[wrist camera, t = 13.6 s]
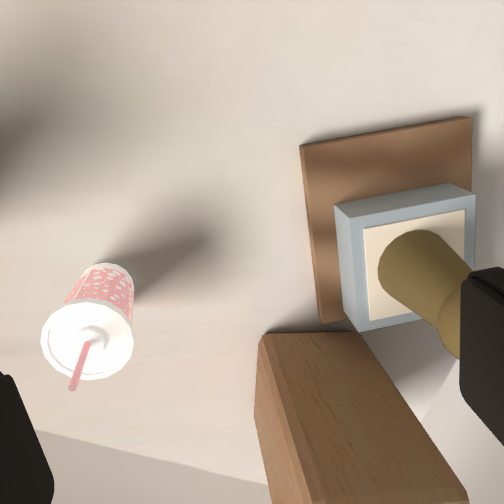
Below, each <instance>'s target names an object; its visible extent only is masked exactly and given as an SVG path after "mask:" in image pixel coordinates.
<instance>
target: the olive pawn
mask: <svg viewBox="0 0 504 504" xmlns="http://www.w3.org/2000/svg"><path fill="white" fill-rule="evenodd" d="M377 270H378V280H379V282H380V284H381V286H382V288H383V289H384V290H385V291H386V292H387V293H388V294H389V295H390V296H391V297H393V298H394V299H396V300H397V301H398V302H400V303H401V304H403V305H404V306H406V307H407V308H408V309H410V310H411V311H413V312H414V313H416V314H417V315H418V316H420V317H421V318H423V319H424V320H425V321H427V322H428V323H430V324H431V325H433V326H434V327H435V328H437V331H438V333H439V336H440V338H441V340H442V343H443V345H444V346H445V347H446V349H447V350H448V351H449V352H450V353H451V354H452V355H454V356H455V357H456V358H457V359H459V360H460V293H461V284H462V282H463V281H464V280H467V277H468V275H469V274H470V273H471V272H474V271H473V270H472V269H471V268H470V267H469V266H468V265H467V264H466V262H465V261H464V260H463V259H462V258H461V257H460V256H459V255H458V254H457V253H456V252H455V251H454V250H453V249H452V248H451V247H450V246H449V245H448V244H447V243H446V242H445V241H444V240H443V239H442V238H441V237H440V236H439V235H438V234H436V233H433V232H431V231H428V230H414V231H409V232H406V233H404V234H402V235H400V236H398V237H397V238H395V239H394V240H393V241H392V242H391V243H390V244H389V245H388V246H387V247H386V248H385V250H384V252H383V253H382V255H381V257H380V260H379V264H378V268H377Z"/></svg>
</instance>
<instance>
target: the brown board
mask: <svg viewBox="0 0 504 504" xmlns="http://www.w3.org/2000/svg"><path fill="white" fill-rule="evenodd" d="M299 148H300V157H301V166H302V174H303V183H304V192H305V201H306V210H307V218H308V227H309V236H310V245H311V253H312V262H313V271H314V280H315V288H316V297H317V306H318V315H319V318H320V319H321V321H322V323H323V324H326V323H331V322H336V321H340V320H345V319H349V318H348V316H347V315H346V313H345V312H344V310H343V300H342V289H341V278H340V267H339V256H338V245H337V234H336V223H335V212H334V204H339V203H345V202H350V201H355V200H361V199H366V198H371V197H376V196H382V195H387V194H392V193H397V192H403V191H408V190H413V189H419V188H424V187H429V186H434V185H440V184H445V183H450V184H453V185H455V186H458V187H460V188H462V189H465V190H467V191H469V192H471V165H472V118H469V117H463V116H462V117H456V118H451V119H445V120H439V121H434V122H428V123H423V124H417V125H412V126H406V127H400V128H395V129H389V130H384V131H378V132H373V133H367V134H361V135H356V136H350V137H345V138H339V139H333V140H328V141H322V142H317V143H311V144H306V145H300V146H299Z"/></svg>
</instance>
